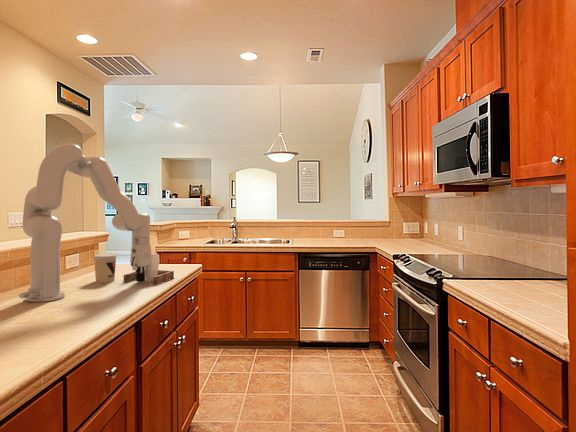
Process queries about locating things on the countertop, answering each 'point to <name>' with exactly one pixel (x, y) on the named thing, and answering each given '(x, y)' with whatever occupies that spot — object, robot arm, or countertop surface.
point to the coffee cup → (105, 267)
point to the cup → (152, 268)
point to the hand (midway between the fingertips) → (140, 281)
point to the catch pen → (160, 277)
